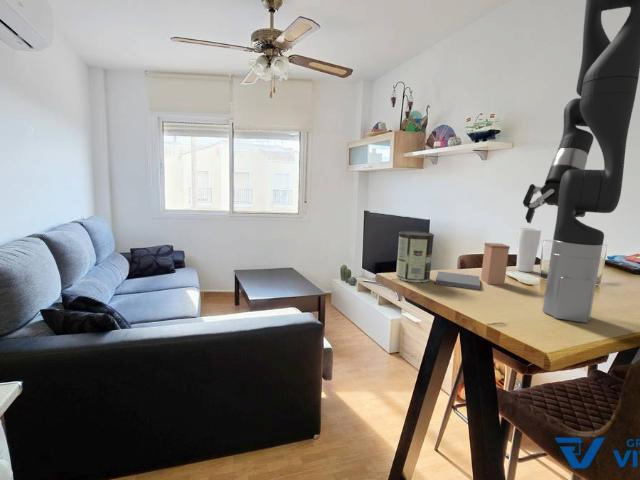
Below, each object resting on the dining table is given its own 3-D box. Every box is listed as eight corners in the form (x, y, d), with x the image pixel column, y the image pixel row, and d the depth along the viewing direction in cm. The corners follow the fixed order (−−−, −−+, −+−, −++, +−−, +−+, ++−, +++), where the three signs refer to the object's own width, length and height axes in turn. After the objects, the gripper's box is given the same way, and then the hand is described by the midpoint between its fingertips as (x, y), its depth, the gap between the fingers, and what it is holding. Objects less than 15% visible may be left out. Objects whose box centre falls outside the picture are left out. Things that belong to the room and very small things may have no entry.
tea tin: (504, 284, 109) (509, 246, 107) (487, 283, 109) (492, 245, 107) (496, 280, 114) (501, 243, 112) (480, 279, 114) (484, 242, 112)
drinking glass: (529, 269, 132) (535, 228, 130) (538, 273, 126) (545, 230, 123) (510, 267, 133) (515, 227, 131) (518, 272, 126) (524, 229, 124)
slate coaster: (479, 289, 102) (480, 285, 102) (435, 283, 106) (435, 279, 106) (478, 280, 113) (478, 276, 113) (438, 274, 117) (438, 271, 117)
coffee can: (415, 273, 118) (419, 230, 116) (436, 281, 109) (441, 235, 106) (388, 274, 114) (392, 230, 112) (408, 283, 105) (412, 235, 103)
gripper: (535, 160, 98) (515, 216, 97) (599, 167, 89) (577, 228, 88) (538, 171, 104) (519, 224, 103) (598, 178, 95) (578, 236, 94)
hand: (546, 226), depth 96 cm, fingers open, 8 cm apart
